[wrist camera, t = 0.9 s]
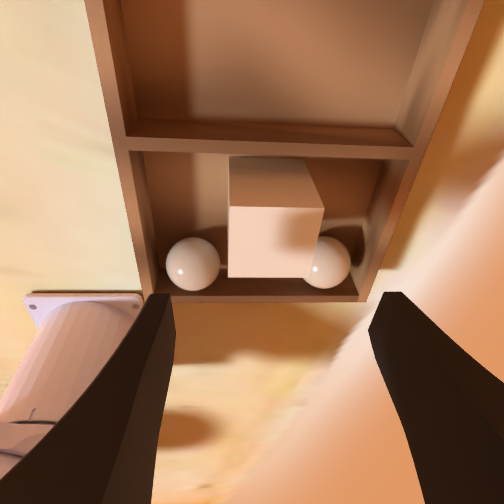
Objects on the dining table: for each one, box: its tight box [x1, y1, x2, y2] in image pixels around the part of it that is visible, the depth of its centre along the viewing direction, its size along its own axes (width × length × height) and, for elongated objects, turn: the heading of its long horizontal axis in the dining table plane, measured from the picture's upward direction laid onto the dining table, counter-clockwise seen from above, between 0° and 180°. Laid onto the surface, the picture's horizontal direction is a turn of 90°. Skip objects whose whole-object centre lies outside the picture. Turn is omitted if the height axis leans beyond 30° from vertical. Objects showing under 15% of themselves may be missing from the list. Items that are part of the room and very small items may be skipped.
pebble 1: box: [166, 237, 220, 291], centre depth 20 cm, size 3×3×3 cm
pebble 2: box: [303, 236, 351, 289], centre depth 21 cm, size 3×3×3 cm
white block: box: [228, 157, 325, 278], centre depth 17 cm, size 4×4×5 cm
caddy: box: [84, 0, 485, 303], centre depth 16 cm, size 20×14×3 cm
